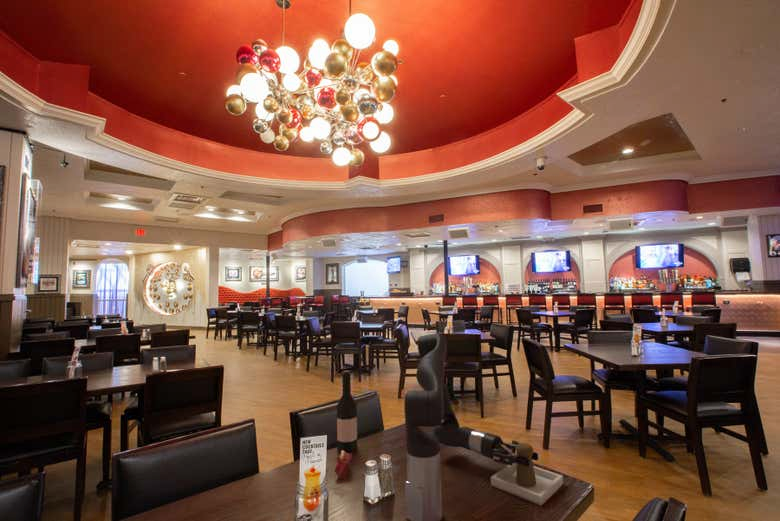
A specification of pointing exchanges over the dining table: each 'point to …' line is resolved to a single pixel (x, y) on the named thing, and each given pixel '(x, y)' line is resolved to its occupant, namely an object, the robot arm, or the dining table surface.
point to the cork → (525, 473)
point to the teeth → (343, 464)
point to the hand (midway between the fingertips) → (533, 460)
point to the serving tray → (537, 493)
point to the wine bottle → (346, 418)
